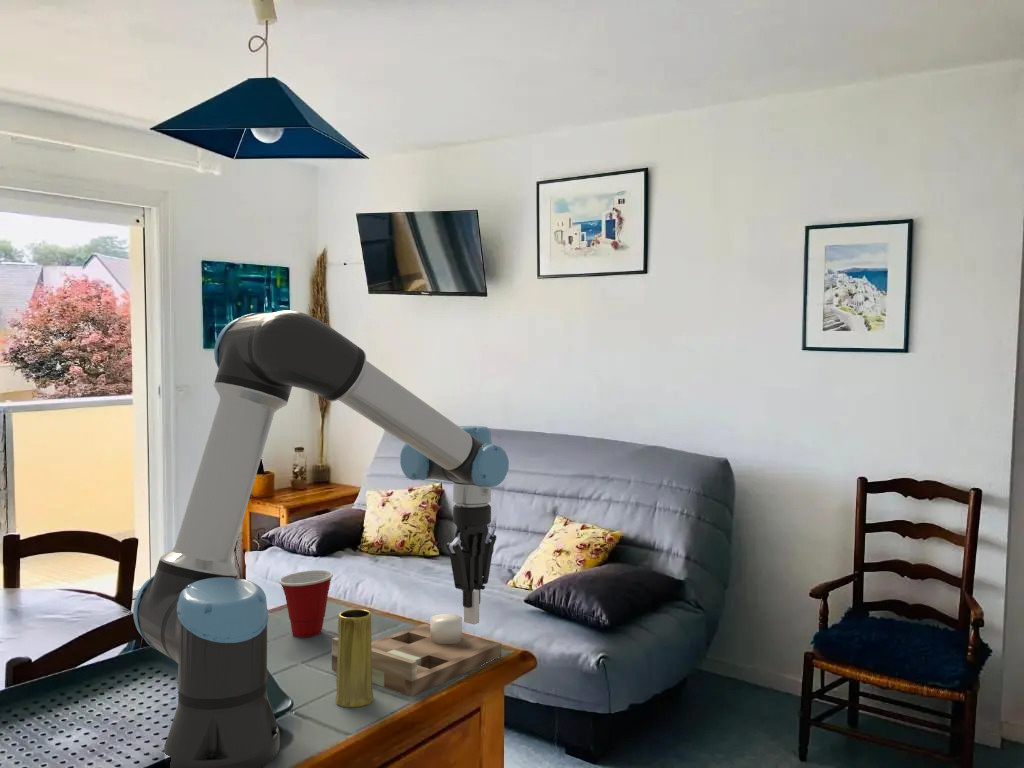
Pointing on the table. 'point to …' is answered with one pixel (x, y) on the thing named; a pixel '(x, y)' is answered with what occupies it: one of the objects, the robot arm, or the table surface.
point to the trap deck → (423, 659)
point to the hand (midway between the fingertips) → (471, 622)
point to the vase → (354, 659)
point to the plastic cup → (306, 600)
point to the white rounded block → (446, 629)
